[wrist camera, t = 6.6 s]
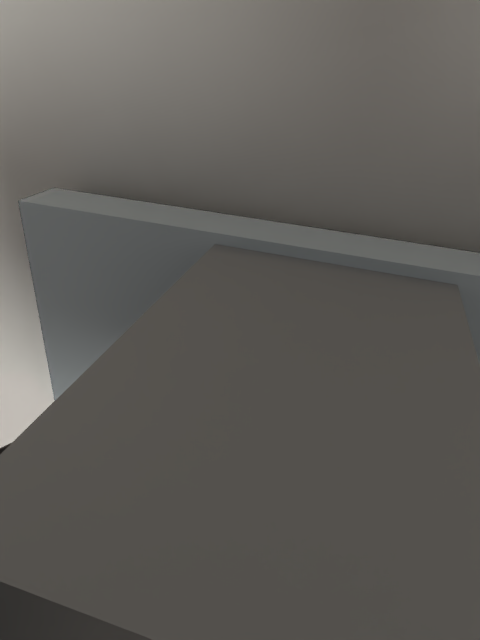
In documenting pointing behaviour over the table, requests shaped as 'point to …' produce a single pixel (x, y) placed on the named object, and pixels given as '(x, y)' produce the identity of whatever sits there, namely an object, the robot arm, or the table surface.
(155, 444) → the stub
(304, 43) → the table surface
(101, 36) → the table surface
